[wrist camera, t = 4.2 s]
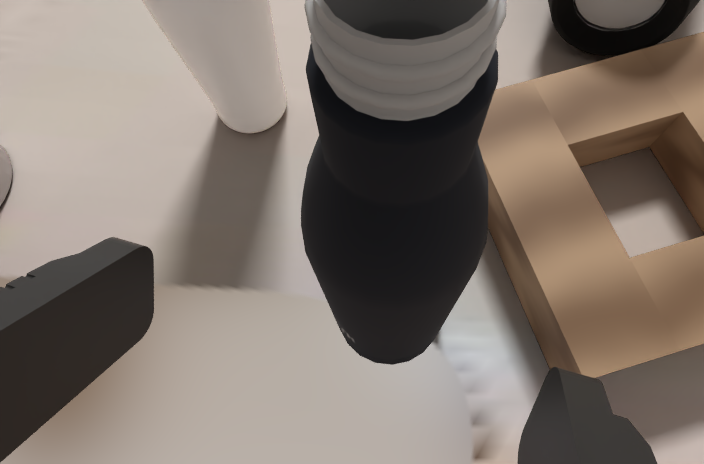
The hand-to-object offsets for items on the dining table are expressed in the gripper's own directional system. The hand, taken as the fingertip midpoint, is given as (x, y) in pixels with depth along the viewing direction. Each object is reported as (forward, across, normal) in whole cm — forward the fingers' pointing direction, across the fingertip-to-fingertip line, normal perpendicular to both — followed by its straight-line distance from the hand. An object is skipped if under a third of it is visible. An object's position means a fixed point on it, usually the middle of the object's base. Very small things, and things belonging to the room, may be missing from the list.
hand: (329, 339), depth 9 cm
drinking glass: (+27, +14, +2) cm, 30 cm away
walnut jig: (+26, -13, +3) cm, 29 cm away
